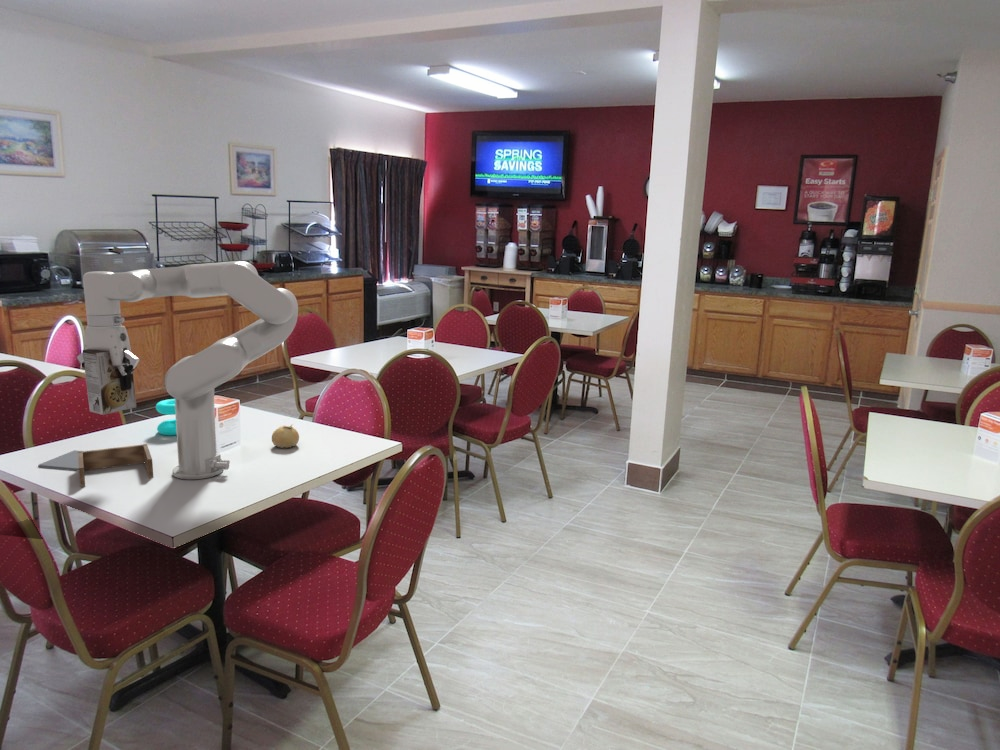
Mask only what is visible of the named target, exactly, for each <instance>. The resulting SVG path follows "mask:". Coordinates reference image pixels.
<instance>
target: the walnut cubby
mask: <svg viewBox="0 0 1000 750" xmlns="http://www.w3.org/2000/svg"><path fill="white" fill-rule="evenodd" d="M81 451H82V452H78V460H79V471H78V473H79V474H78V475H79V486H80V488H83V487H82V486H85V487H86V480H85V479H86V477H85V476H86V475H85V471H90V470H89V469H91V470H98V469H97V468H99V469H104V468H103V467H107V468H112V466H115V467H122V466H121V465H123V466H129V465H128V464H131V465H137V463H139V464H144V466H145V469H146V472H147V476H148V478H149V479H151V478H154V468H153V467H154V466H153V457H152V455H151V452H150V448H149V446H148V444H147V443H146V444H145V443H144V444H136V445H134V444H133V445H128V446H119V447H118V446H117V447H110V448H109V447H108V448H101V449H100V448H99V449H93V450H81ZM144 462H145V463H144Z"/></svg>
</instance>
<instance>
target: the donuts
mask: <svg viewBox="0 0 1000 750" xmlns="http://www.w3.org/2000/svg"><path fill="white" fill-rule="evenodd" d="M155 410H156V411H157V412H158V413H159V414H162V415H165V416H166V415H169V416H173V415H174V416H176V414H175V398H170V399H165V400H164V399H163V400H160V401H158V402H157V403H156V405H155ZM156 431H157V432H158V433H159V434H160V435H164V436H177V432H176V418H173V419H167V420H164V421H162V422H160V423H159V424H157V427H156Z"/></svg>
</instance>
